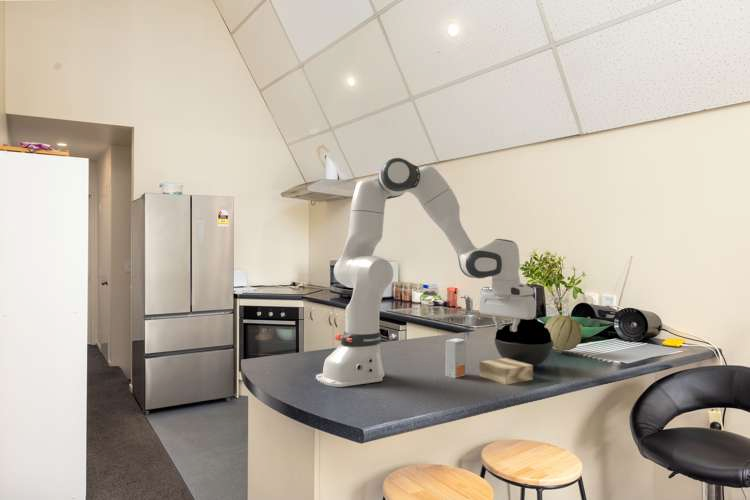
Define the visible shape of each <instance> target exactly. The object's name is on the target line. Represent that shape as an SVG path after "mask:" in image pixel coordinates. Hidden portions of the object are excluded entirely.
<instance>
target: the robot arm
mask: <svg viewBox="0 0 750 500" xmlns="http://www.w3.org/2000/svg"><path fill="white" fill-rule="evenodd" d="M405 193H410V194H412V195H413V196H414V197H415V198H416V199H417V200H418V203H420V205H421V206H422V208H423V210H424V211H425V213H426V214H427V215H428V216H429V218H430V219H431V220H432V221H433V222H434V223H435V224H436V225H437V226H438V227H439V228H440V230H442V232H443V233H444V234H445V236H446V237H447V239H448V241H449V243H450V244H451V246H452V247H453V249H454V251H455V253H456V254H457V258H458V265H459V269H460V271H461V272H462V273H463V275H465V276H466V277H468V278H472V279H478V280H480V279H481V280H482V279H486V278H488V277H489V278H490V277H491V279H492V280H491V286H484V287H483V288H481V289H480V294H479V300H478V302H479V303H478V311H479V313H480V314H481V315H489V316H492V320H493V322H494V324H495V329H496V330H498V329H502V328H503V323H501V321H500V319H501V318H500V317H504V318H511V319H512V318H513V320H512V322H513V323H512V324H513V325H512V326H510V331H512V332H516V331H517V325H518V324H519V322H520V319H526V320H530V319H534V317H535V316H537V308H536V300H535V297H534V296H533V295H534V294H535V293H534V292H535V290H534V288H533V287H530V286H528V285H526V284H524V283H521V280H520V279H521V278H520V274H519V269H520V267H521V266H520V265H521V264H520V263H521V262H520V259H521V258H520V251H519V246H518V244H517V243H516V242H515V241H513V240H510V239H505V238H503V239H502V238H495V239H494V240H492V241H491V242H490V243H488V244H486V245H484V246H482V247H480V248H477V247H476V246H475V245H474V243H472V240H471V239H470V237H469V236H468V234H467V232H466V231H465V228H464V227H463V225H462V223H461V219H460V217H461V216H460V208H461V206H460V204H459V202H458V199H457V196H456V195H455V193H454V191H453V190H452V188H451V186H450V185H449V184H448V182H447V181H446V179H445V178H444V177H443V176H442V175H441V174H440V172H439V171H438V170H437V169H436V168H435V167H433V166H431V165H424V166H421V167H420V168H419V167H418V166H417V165H415V164H413V163H411V162H410V161H409V160H408V159H407V160H406V159H405V158H401V157H394V158H391V159H389V160H387V161H386V162H384V164H383V165H382V167H381V168H380V171H379V173H378V175H377V177H376V178H374V179H362V180H360V181H358V183H357V184H356V185H355V187H354V191H353V195H352V199H351V204H350V213H349V214H350V215H349V223H348V224H349V225H348V234H347V238H346V241H345V245H344V247H343V250H342V254H341V255H340V257H339V259H338V260H337V261H336V263H335V264H334V266H333V267H334V268H333V276H334V279H335V280H336V282H338V283H339V284H341V285H342V286H345V287H346V288H351V289H353V290H352V291H353V292H352V295H351V299H350V301H349V303H348V304H347V305H346V307H345V316H344V317H345V321H344V322H345V326H344V327H345V328H344V329H345V331H344V332H343V334H339V333H335V335H334V340H335V341H339V342H340V345H338V347H337V348H336V349H334V350H333V351H332V353H330V354H329V355H328V356H326V357H325V359H324V363H323V366H322V367H323V369H322V373H317V374H315V380H316V379H317V380H318V381H317V380H316V381H317V382H319V381H320V382H319V383H321V382H322V383H321V384H323V383H324V384H323V385H326V386H330V387H334V388H344V387H350V386H357V385H363V384H371V383H378V382H382V381H383V378H384V377H385V372H384V368H383V367H384V366H383V362H382V358H381V357H382V355H381V349H380V348H381V342H382V339H381V338H382V336H381V335H382V334H381V333H382V332H381V331H380V313H381V303H382V299H383V297H384V293H385V291H386V290H387V288H388V287H389V286H390V284H391V283H392V281H393V278H394V269H393V266H392V264H391V263H390V261H388V260H387V259H384V258H382V257H380V256H377V255H374V251H375V250H376V247H377V245H378V244H379V243H380V242H381V241H382V239H383V232H384V219H385V218H384V217H385V207H386V206H385V205H386V201H387V200H390V199H395V198H399V197H401V196H403V195H404V194H405ZM535 318H536V317H535Z"/></svg>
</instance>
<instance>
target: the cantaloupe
mask: <svg viewBox="0 0 750 500" xmlns="http://www.w3.org/2000/svg"><path fill="white" fill-rule="evenodd" d="M544 327H545V328H547V329H548V330H549V332H550V334H551V340H553V347H552V348H553V349H555V350H557V351H571V350H573V349H575V348H577V347H578V345H579V344H580V343H581V340H582V335H583V334H582V333H583V331H582V328H581V325H580V324H579V322H578V321H577V320H576V319H574V318H573V317H571V314H570V313H568V314H567V315H564V314H557V315H554V316H552V317H550V318H549V320H547V322H546V323H545V325H544Z"/></svg>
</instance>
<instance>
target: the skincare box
mask: <svg viewBox="0 0 750 500" xmlns="http://www.w3.org/2000/svg"><path fill="white" fill-rule="evenodd" d="M466 343H467V341H466V339H463V338H458V337H457V338H456V337H455V338H451V339H446V340H445V353H444V355H445V356H444V357H445V362H444V363H445V365H444V367H445V368H444V372H445V373H444V374H445V377H447V378H453V379H456V378H460V377H463V376H466V369H467V368H466V361H467V360H466V358H467V357H466V356H467V355H466V351H467V350H466V345H467V344H466Z"/></svg>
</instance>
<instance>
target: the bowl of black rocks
mask: <svg viewBox="0 0 750 500" xmlns="http://www.w3.org/2000/svg"><path fill="white" fill-rule="evenodd" d="M536 316H537V315H536ZM536 316H535V317H534V319H530V320H526V319H520V322H519V324H518V325H517V331H516V332H512V331H510V326H512V325H513V323H510V324H509V323H508V324H505V325H504V326H502V329H496V333H495V337H494V344H495V348H496V350H497V352H498V354H499V356H500V357H501V358H509V359H512V360H516V361H520V362H524V363H527V364H531V365H533V368H534V367H537V366H540V365H541V364H543V363H544V362H545V361H546V360H547V359H548V358H549V356H550V355H551V353H552V351H553V348H554V347H553V340H551V334H550V332H549V330H548V329H547V328H545V325H544V323H543V322H541V321H539V320H537V319H536ZM511 320H512V321H513V318H511Z"/></svg>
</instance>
